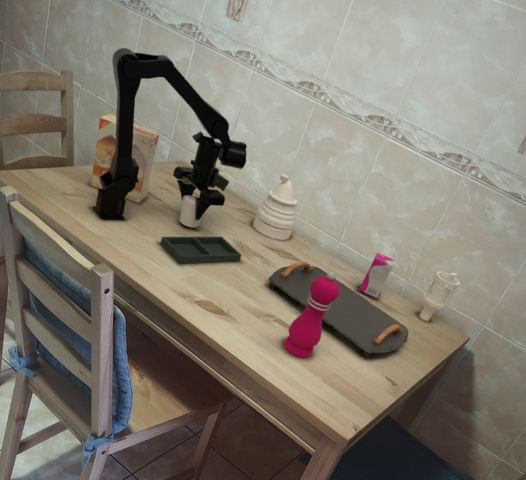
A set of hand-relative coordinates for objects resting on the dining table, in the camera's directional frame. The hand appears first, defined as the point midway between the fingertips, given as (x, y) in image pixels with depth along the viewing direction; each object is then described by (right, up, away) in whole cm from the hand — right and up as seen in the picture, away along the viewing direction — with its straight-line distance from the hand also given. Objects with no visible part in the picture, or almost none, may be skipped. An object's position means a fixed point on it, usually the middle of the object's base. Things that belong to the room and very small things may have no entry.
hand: (191, 214), depth 145 cm
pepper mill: (+28, -39, -31) cm, 57 cm away
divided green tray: (+4, -13, -9) cm, 16 cm away
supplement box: (+52, -22, +7) cm, 57 cm away
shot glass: (-1, -2, +2) cm, 3 cm away
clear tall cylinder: (+68, -29, +5) cm, 75 cm away
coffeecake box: (-22, +8, +6) cm, 24 cm away
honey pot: (+23, 0, +21) cm, 31 cm away
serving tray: (+40, -29, -11) cm, 51 cm away
